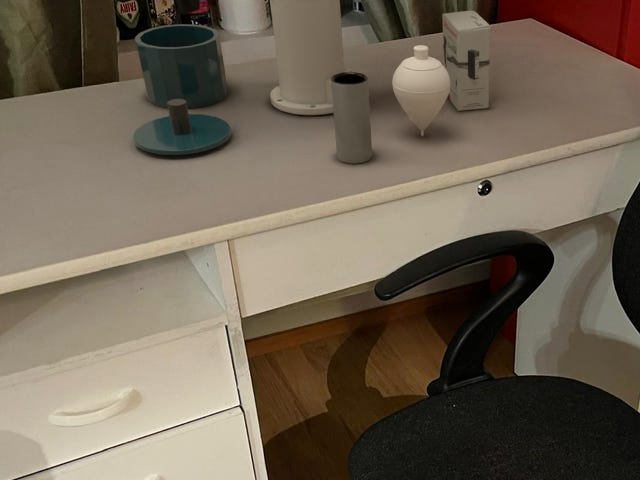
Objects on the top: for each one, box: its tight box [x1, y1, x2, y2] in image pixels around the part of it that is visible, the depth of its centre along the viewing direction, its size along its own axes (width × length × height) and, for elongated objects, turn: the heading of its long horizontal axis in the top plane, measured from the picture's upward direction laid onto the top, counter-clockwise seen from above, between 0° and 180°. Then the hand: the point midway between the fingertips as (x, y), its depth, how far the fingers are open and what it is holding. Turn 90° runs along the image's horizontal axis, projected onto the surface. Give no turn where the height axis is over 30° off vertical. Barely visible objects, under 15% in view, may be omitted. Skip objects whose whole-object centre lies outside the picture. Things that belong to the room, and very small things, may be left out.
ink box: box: [442, 10, 491, 112], centre depth 126 cm, size 8×5×12 cm, turn 17°
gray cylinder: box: [331, 71, 373, 165], centre depth 109 cm, size 4×4×10 cm
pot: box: [134, 23, 228, 109], centre depth 126 cm, size 11×11×8 cm
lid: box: [132, 99, 232, 156], centre depth 113 cm, size 12×12×5 cm
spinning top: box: [392, 44, 451, 137], centre depth 114 cm, size 8×8×12 cm
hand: (159, 5), depth 109 cm, fingers open, 9 cm apart
